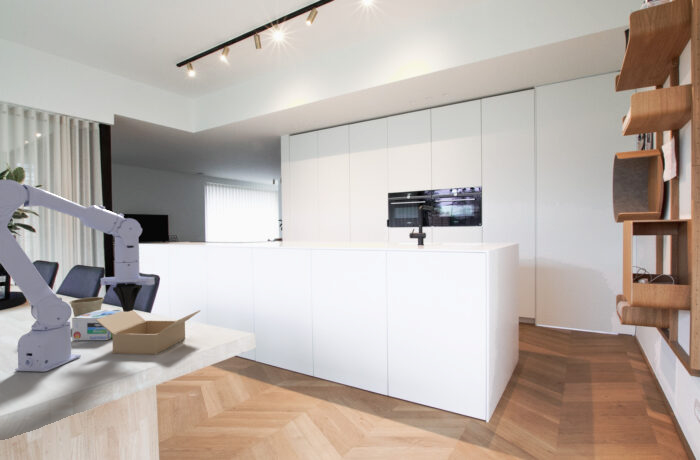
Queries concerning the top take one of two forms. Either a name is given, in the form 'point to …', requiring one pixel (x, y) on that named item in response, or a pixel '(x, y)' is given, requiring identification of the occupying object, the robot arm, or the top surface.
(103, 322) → the flap
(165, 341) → the carton
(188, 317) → the flap
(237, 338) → the top surface
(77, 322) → the light bulb box
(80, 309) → the flower pot
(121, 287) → the robot arm
